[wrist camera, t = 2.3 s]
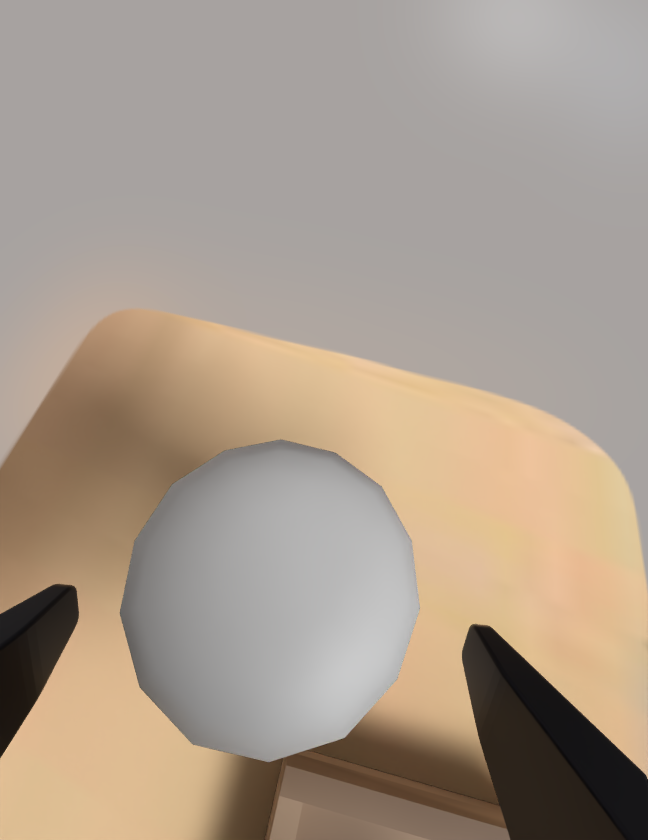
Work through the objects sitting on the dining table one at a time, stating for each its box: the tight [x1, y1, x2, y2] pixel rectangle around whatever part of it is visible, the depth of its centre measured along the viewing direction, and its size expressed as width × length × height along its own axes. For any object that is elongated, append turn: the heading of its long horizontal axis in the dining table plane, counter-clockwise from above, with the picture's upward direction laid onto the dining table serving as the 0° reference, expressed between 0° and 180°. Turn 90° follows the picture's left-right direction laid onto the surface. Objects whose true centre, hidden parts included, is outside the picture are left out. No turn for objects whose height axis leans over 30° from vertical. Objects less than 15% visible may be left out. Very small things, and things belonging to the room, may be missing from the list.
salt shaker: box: [120, 440, 420, 762], centre depth 11 cm, size 6×6×13 cm
